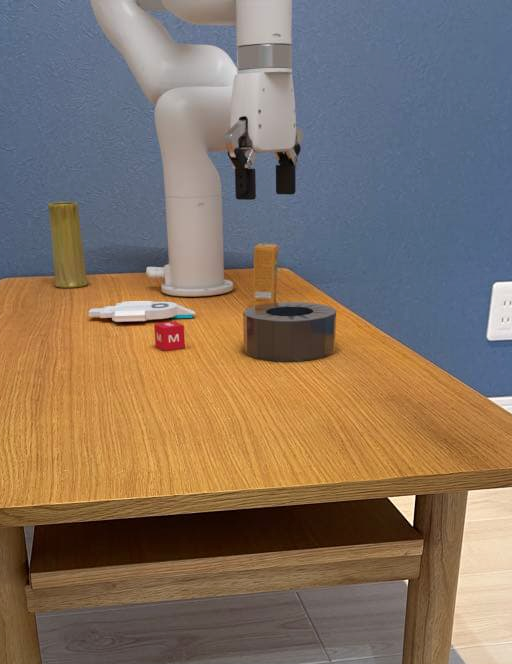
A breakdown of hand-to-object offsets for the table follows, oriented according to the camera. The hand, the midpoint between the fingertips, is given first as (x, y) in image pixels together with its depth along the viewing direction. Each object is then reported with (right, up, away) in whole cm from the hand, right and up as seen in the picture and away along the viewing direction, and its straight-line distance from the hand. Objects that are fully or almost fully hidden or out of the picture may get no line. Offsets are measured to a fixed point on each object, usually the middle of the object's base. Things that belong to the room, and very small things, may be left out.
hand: (266, 196), depth 124 cm
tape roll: (+2, -25, -14) cm, 29 cm away
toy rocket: (-19, -16, +6) cm, 26 cm away
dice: (-13, -24, -11) cm, 30 cm away
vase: (-35, -3, +34) cm, 49 cm away
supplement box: (0, -15, +8) cm, 17 cm away
